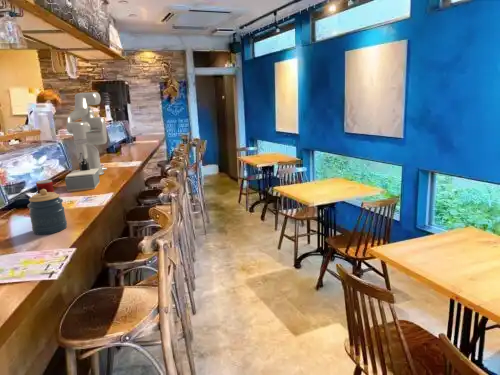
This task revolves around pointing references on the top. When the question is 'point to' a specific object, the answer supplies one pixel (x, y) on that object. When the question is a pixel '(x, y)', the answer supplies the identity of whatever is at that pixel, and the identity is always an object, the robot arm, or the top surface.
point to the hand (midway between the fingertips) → (85, 169)
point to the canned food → (45, 185)
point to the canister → (47, 213)
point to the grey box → (82, 182)
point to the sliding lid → (83, 171)
